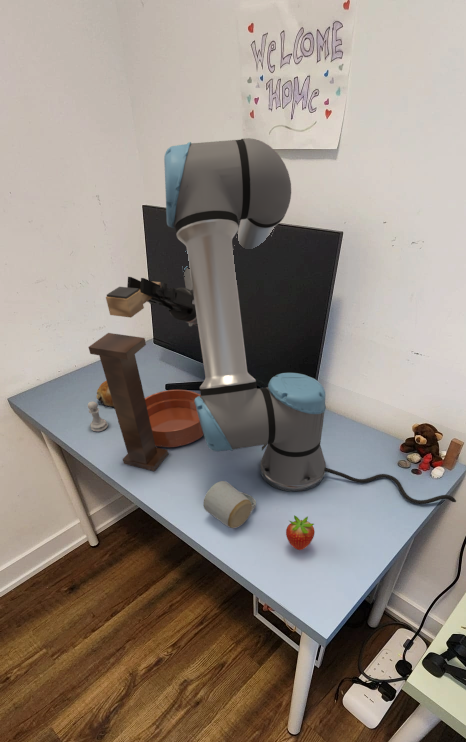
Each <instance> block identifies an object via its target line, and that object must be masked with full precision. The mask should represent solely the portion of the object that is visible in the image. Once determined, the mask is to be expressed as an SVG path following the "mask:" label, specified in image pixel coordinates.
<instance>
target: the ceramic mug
mask: <svg viewBox="0 0 466 742" xmlns="http://www.w3.org/2000/svg"><path fill="white" fill-rule="evenodd" d="M256 504H257V501H256V499H255V498H254V497H253V496H252V495H250V494H248V493H246V492H242V491H240V490H238V489H237V488H235V487H234V486H233V485H232V484H230V483H229V482H228V481H226V480H220V481H218V482H215V483H214V484H213V485H212V486H211V487H210V488H209V489H208V490H207V492H206V494H205V495H204V498H203V504H202V505H203V509H204V510H205V511H206V512H207V513H208V514H209V515H211V516H213V517H214V518H215V519H216V520H218V521H219V522H220V523H222V524H223V525H224V526H226V527H229V528H231V529H236V528H239V527H241V526H243V524H245V523H246V521H247V520H248V519H249V517H250V516H251V513H252V511H253V510H255V508H256Z"/></svg>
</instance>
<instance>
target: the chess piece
mask: <svg viewBox="0 0 466 742" xmlns="http://www.w3.org/2000/svg"><path fill="white" fill-rule="evenodd" d="M87 408H88V413H89V414H91V417H92V421H91V422H90V424H89V426H90V430H92V431H93V432H102V431H105V430H106V429H107V428H108V425H109V424H108V422H107V420H106V419H104V418H102V417H101V416H100V413H99V412H100V408H98V404H97V402H96V401H89V402H88V403H87Z"/></svg>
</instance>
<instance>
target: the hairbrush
mask: <svg viewBox="0 0 466 742" xmlns="http://www.w3.org/2000/svg"><path fill="white" fill-rule="evenodd" d="M152 282H154V283H156V284H158V285H160V288H161V287H162V282H161V281H152ZM151 298H152V297H151V296H148V295H146V294H143V293H141V291H140V289H138V288H128V287H127V286H118V287H117V288H115V289H113V290H112V291H110V292H108V293H107V294H106V296H105V300H106V304H107V308H108V312H109V315H110V316H115V317H124V318H133V317H134V316H135V315H137V314H139V312H141V311H143V310H144V309H145V304H146V303H148V302H147V301H148V300H150V299H151Z"/></svg>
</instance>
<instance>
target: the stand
mask: <svg viewBox="0 0 466 742" xmlns="http://www.w3.org/2000/svg"><path fill="white" fill-rule="evenodd" d="M146 345H147V342H146V337H141V336H135V335H126V334H119V333H112V332H107V333H106V334H104V335H102V337H100V338H98V339H97V340H96V341H95V342H93V343H92V344H90V345H89V346H88V350H89V354H90V355H93V356H94V355H95V356H99V359H100V363H101V366H102V369H103V373H104V376H105V381H106V380H107V384H108V387H109V391H110V394H111V398H112V401H113V404H114V407H113V408H114V411H115V414H116V418H117V421H118V425H119V429H120V432H121V435H122V439H123V443H124V445H125V448H126V454H125V456H124V457H122V462H123V464H124V465H127V466H131V467H135V468H140V469H143V470H147V471H152V472H156V471H157V469H158V468H159V467H160V466H161V465H162V463H164V461H165V459H166V458H167V457H168V456H169V452H168V449H165V448H162V447H158V446H155V441H154V437H153V433H152V428H151V424H150V419H149V415H148V411H147V406H146V402H145V398H146V397H145V393H144V389H143V385H142V379H141V376H140V373H139V367H138V366H139V365H138V363H137V358H136V354H137V353H138V352H139V351H141V350H142V349H143V348H144V347H146Z"/></svg>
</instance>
